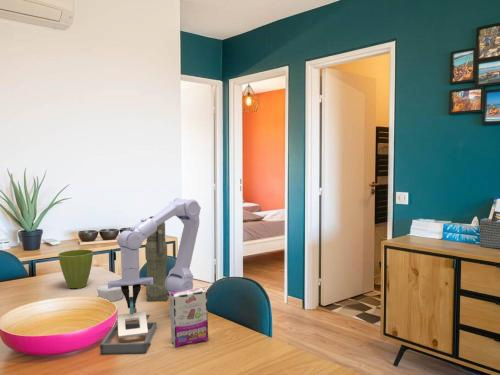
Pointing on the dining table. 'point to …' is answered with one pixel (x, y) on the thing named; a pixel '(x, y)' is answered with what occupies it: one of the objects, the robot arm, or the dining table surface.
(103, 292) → the ramekin
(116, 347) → the charcoal tray
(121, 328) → the cream ring
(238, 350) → the dining table surface
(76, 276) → the flower pot
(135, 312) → the metal T-head stake
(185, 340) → the candy bar box
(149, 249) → the stone pillar statue
